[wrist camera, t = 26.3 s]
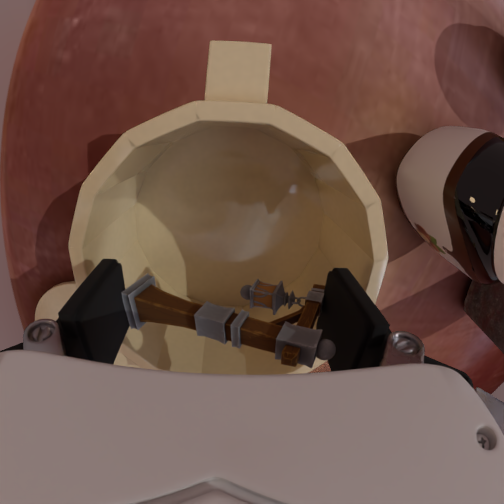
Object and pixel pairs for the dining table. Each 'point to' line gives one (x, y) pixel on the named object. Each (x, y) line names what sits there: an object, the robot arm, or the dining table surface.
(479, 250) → the spread jar
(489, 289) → the candle
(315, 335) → the wooden beam with brackets
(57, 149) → the dining table surface
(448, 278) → the dining table surface
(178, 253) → the pot
